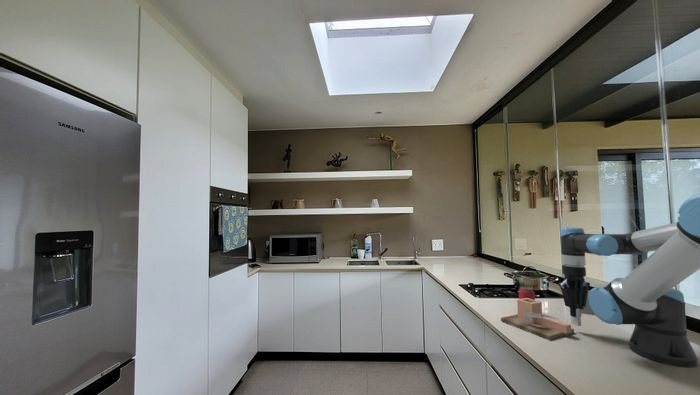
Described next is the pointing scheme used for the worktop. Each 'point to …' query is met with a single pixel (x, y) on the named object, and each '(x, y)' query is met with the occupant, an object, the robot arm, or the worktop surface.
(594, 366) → the worktop surface
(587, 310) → the cup
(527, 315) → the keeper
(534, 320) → the link
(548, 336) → the board
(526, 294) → the beer can
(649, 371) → the worktop surface
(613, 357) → the worktop surface
